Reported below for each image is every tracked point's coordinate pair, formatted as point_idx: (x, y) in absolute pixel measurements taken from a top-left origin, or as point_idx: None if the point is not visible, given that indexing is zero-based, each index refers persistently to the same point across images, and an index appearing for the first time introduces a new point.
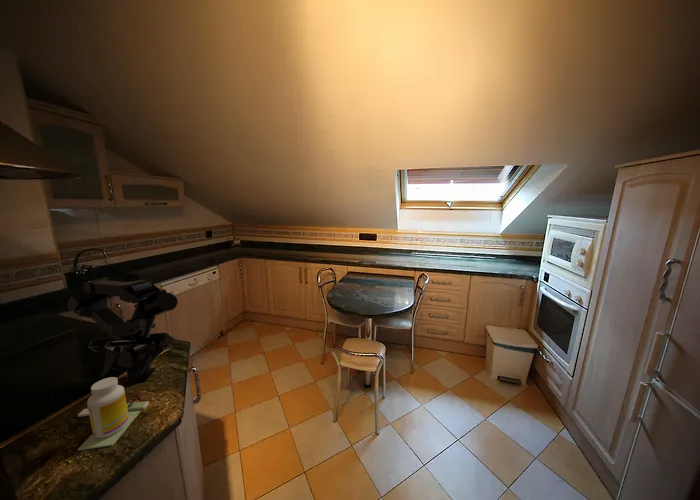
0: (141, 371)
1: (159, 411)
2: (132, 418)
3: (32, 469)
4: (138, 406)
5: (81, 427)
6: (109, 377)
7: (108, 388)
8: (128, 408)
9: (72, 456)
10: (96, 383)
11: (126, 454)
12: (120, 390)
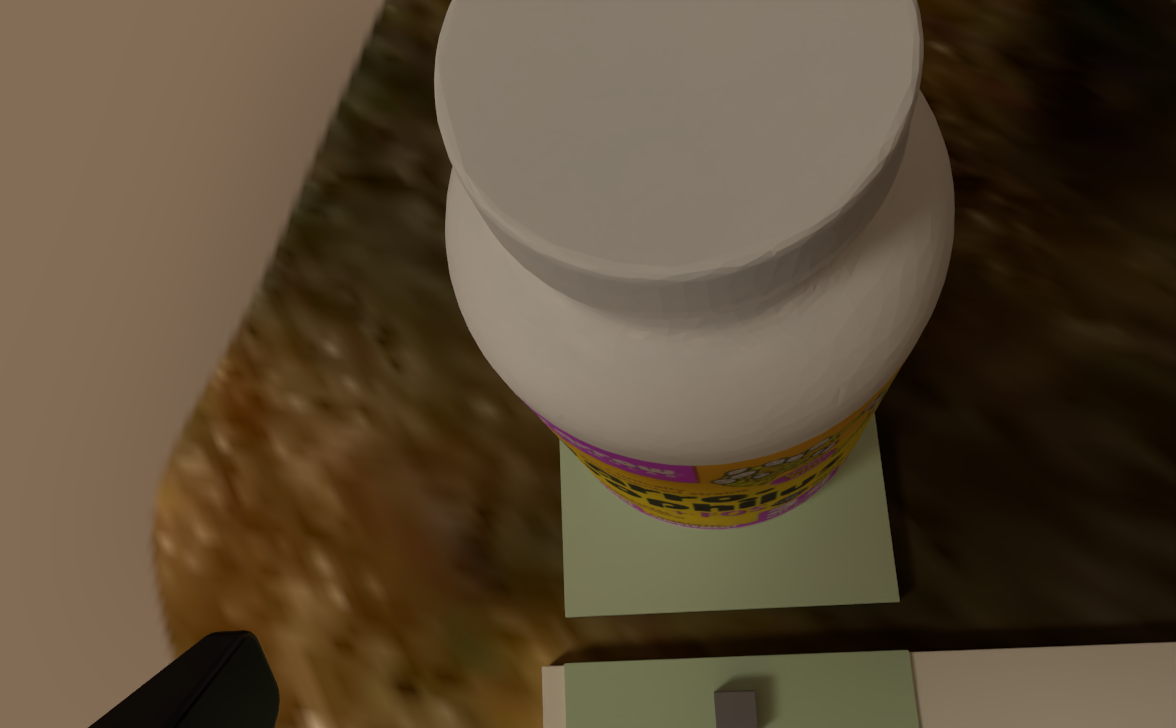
0: (202, 645)
1: (349, 593)
2: (573, 494)
3: (1077, 31)
4: (618, 678)
5: (1108, 449)
6: (729, 259)
7: None
8: (729, 660)
9: None
10: (869, 39)
11: (380, 127)
12: (459, 238)
